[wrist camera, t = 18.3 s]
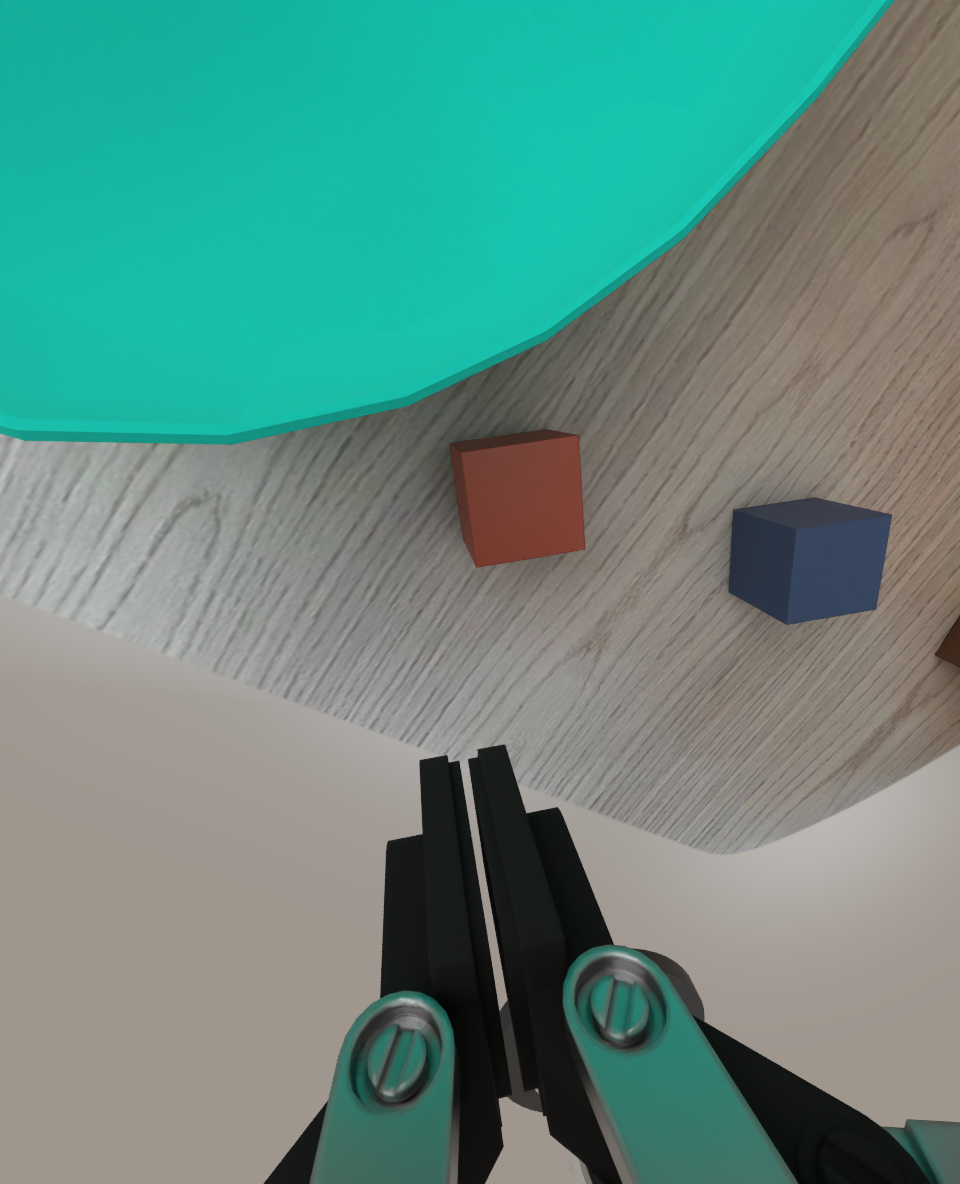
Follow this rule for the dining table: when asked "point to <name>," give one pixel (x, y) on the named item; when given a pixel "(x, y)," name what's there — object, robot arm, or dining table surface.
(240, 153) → the table top decor
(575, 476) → the terracotta block
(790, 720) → the dining table surface
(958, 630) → the walnut block
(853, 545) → the slate block
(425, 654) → the dining table surface
